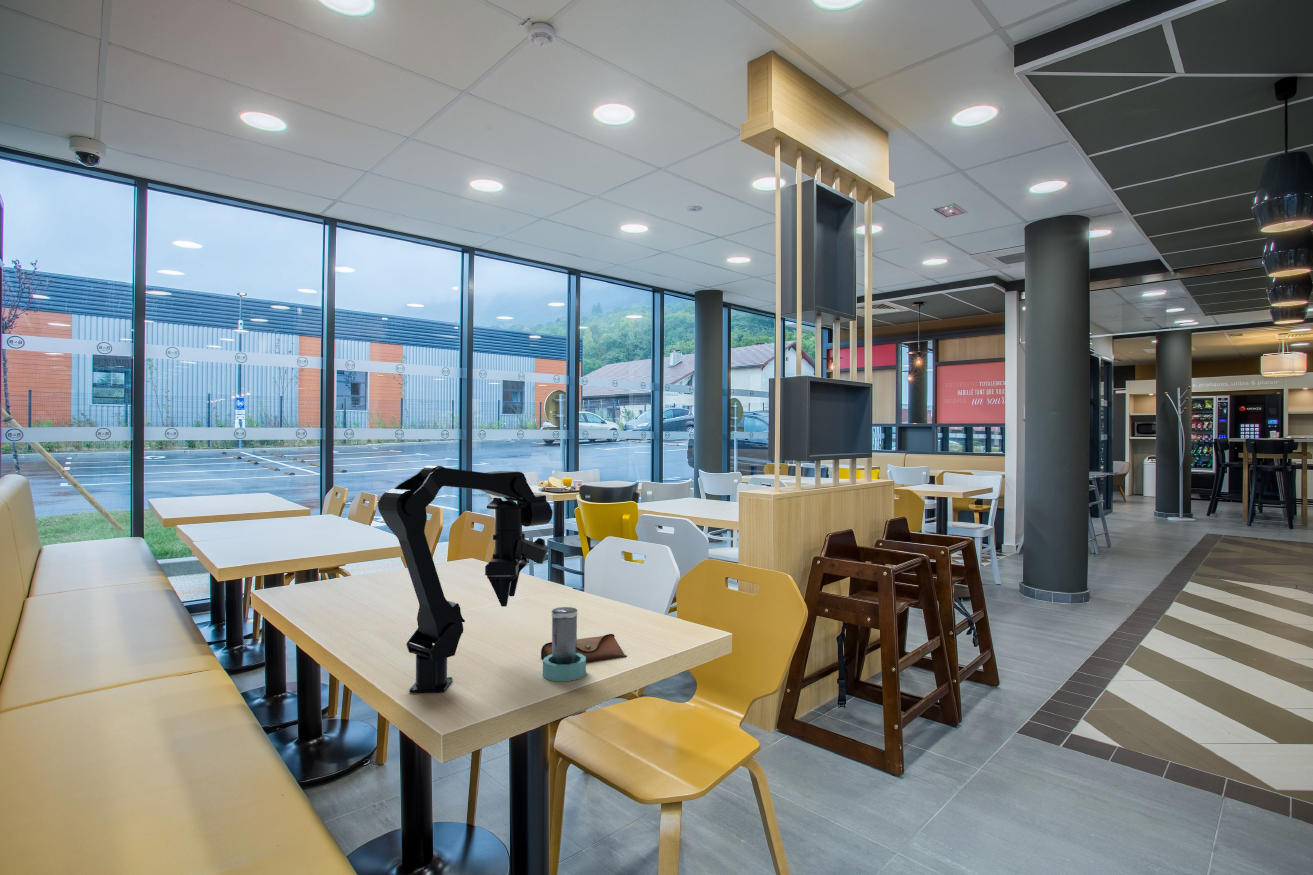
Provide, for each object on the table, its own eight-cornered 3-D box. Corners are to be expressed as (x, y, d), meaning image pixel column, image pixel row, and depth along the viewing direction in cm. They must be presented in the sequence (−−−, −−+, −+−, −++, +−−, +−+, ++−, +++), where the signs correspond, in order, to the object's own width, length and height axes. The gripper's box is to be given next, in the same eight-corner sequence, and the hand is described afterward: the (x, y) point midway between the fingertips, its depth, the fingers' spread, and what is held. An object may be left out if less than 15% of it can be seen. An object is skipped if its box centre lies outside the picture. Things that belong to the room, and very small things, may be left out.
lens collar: (584, 680, 126) (584, 665, 126) (540, 681, 125) (540, 666, 125) (586, 666, 134) (586, 651, 134) (546, 666, 134) (546, 652, 134)
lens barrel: (574, 678, 127) (574, 613, 127) (548, 678, 127) (549, 612, 127) (579, 669, 132) (579, 607, 132) (554, 669, 132) (555, 606, 133)
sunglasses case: (553, 669, 132) (548, 637, 135) (543, 677, 137) (538, 647, 140) (630, 656, 141) (623, 626, 144) (618, 664, 146) (612, 635, 149)
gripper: (540, 534, 129) (539, 611, 128) (551, 523, 147) (550, 591, 147) (484, 534, 128) (484, 612, 128) (502, 523, 147) (502, 591, 146)
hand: (508, 601), depth 137 cm, fingers open, 9 cm apart
